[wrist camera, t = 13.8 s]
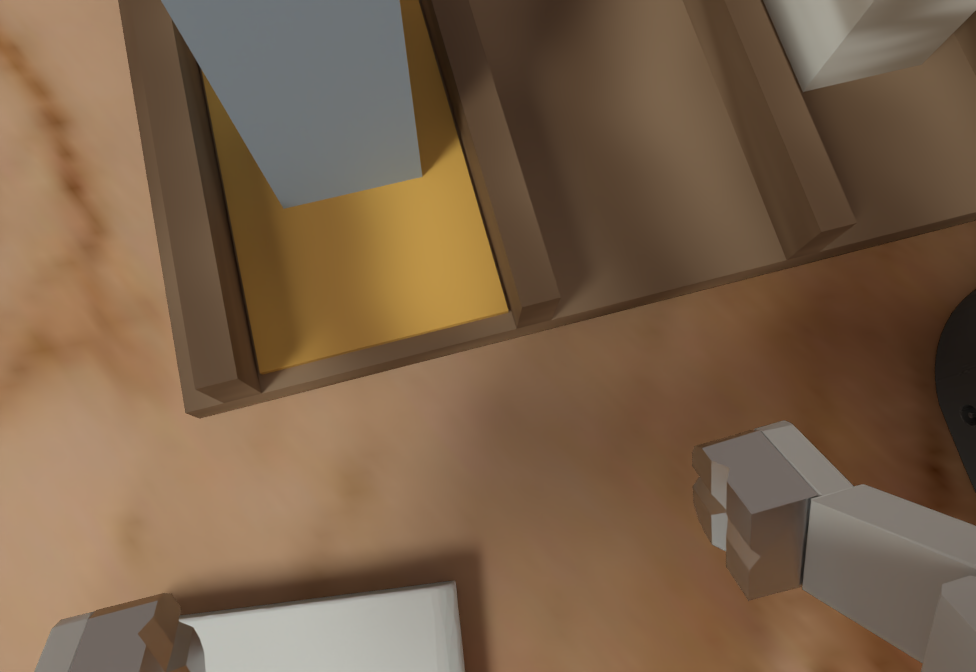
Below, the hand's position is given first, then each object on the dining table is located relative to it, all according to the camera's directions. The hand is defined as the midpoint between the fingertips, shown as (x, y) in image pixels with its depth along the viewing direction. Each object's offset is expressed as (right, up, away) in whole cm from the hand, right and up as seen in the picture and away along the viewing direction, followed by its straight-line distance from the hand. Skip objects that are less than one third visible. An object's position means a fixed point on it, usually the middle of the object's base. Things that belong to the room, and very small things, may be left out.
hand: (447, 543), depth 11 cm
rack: (+4, +12, +12) cm, 17 cm away
